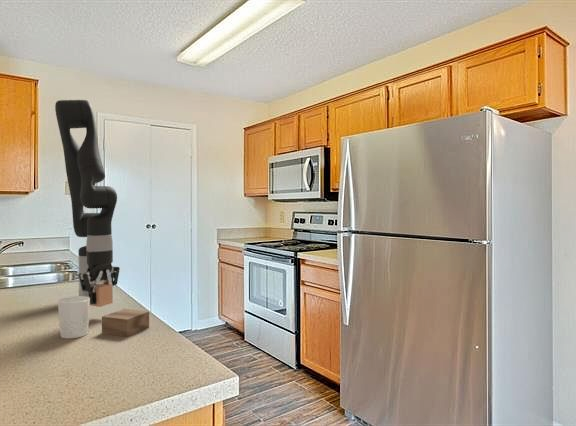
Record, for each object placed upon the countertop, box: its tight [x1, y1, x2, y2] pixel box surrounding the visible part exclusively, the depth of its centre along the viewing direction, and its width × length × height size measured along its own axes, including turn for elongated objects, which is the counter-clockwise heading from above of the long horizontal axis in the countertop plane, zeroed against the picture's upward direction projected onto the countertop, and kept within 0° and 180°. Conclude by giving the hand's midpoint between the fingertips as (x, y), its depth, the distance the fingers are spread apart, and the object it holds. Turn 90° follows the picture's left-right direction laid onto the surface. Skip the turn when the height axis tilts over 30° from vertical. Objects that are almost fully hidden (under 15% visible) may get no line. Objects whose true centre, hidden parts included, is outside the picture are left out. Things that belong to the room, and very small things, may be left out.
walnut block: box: [101, 308, 150, 338], centre depth 114 cm, size 9×9×5 cm
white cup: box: [57, 295, 91, 340], centre depth 110 cm, size 8×8×10 cm
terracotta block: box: [88, 283, 114, 308], centre depth 126 cm, size 5×5×6 cm
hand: (100, 301), depth 126 cm, fingers closed on terracotta block, 5 cm apart
